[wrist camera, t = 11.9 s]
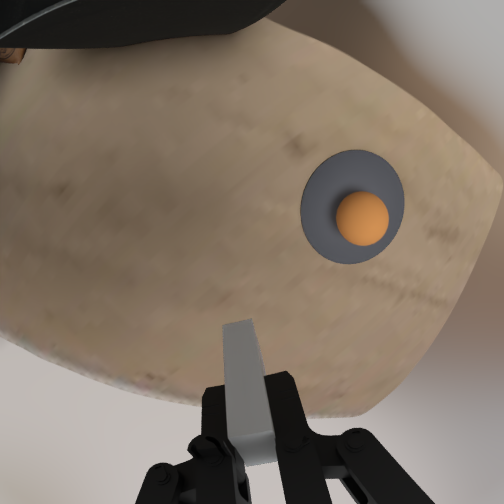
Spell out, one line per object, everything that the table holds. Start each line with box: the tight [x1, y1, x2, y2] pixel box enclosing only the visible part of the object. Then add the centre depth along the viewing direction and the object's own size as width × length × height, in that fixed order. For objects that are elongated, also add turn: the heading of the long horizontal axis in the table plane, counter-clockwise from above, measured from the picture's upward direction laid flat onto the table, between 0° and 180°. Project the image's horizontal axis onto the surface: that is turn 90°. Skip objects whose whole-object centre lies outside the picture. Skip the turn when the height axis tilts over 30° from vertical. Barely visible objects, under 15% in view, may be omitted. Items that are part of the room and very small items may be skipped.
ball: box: [336, 191, 389, 246], centre depth 27 cm, size 6×6×6 cm
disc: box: [301, 150, 404, 264], centre depth 30 cm, size 13×13×1 cm
